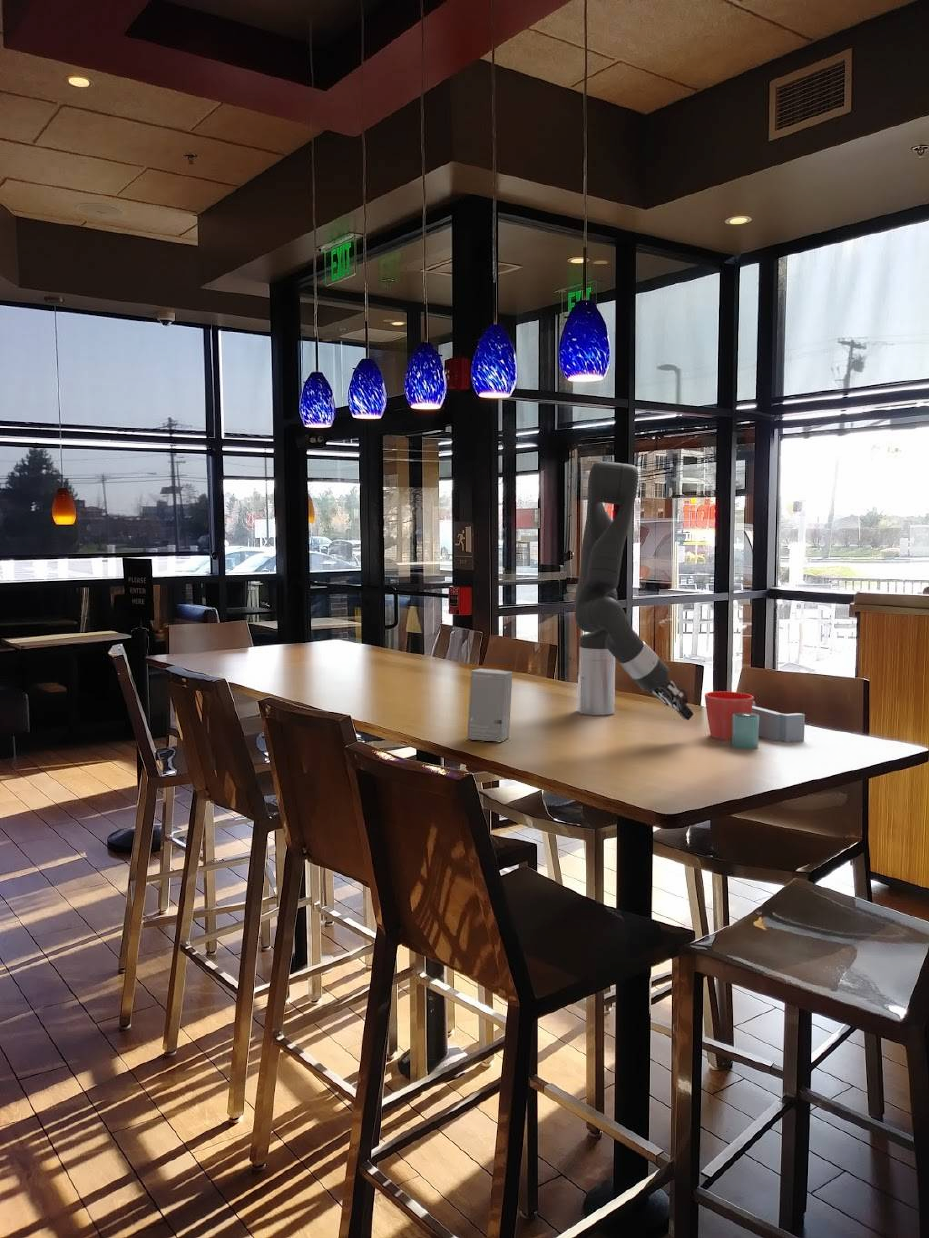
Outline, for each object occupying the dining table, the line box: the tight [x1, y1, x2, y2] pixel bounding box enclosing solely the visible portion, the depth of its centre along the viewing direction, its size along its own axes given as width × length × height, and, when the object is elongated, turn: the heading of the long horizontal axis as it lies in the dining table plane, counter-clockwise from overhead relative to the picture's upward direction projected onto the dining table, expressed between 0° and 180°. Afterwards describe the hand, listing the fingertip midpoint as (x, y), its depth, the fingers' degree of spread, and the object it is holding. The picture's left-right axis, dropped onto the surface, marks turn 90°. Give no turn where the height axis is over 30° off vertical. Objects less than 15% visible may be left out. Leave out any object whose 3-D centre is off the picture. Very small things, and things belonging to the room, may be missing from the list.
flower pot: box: [704, 691, 755, 741], centre depth 232 cm, size 11×11×10 cm
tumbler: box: [731, 713, 759, 750], centre depth 221 cm, size 6×6×7 cm
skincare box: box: [467, 668, 514, 742], centre depth 227 cm, size 8×7×16 cm
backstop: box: [751, 700, 806, 743], centre depth 236 cm, size 6×20×6 cm, turn 21°
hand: (689, 716), depth 228 cm, fingers closed
